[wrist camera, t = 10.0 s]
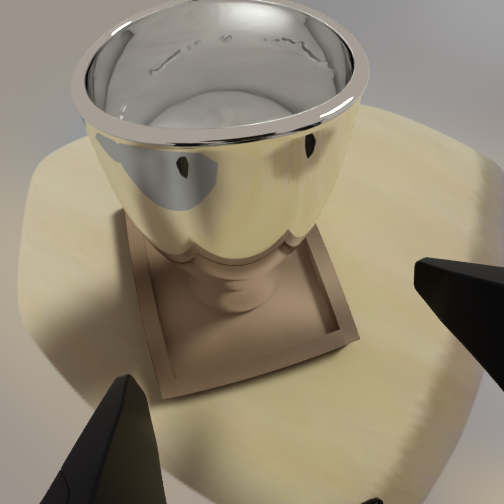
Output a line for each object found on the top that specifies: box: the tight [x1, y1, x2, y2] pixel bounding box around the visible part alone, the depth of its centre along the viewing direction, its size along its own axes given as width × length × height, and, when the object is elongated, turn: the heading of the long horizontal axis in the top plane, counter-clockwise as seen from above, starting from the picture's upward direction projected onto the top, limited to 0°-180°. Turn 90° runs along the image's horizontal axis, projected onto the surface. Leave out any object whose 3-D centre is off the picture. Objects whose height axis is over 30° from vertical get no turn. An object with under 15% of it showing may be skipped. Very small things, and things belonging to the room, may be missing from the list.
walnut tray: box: [125, 212, 360, 399], centre depth 19 cm, size 14×12×2 cm
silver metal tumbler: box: [71, 0, 370, 313], centre depth 12 cm, size 7×7×15 cm
